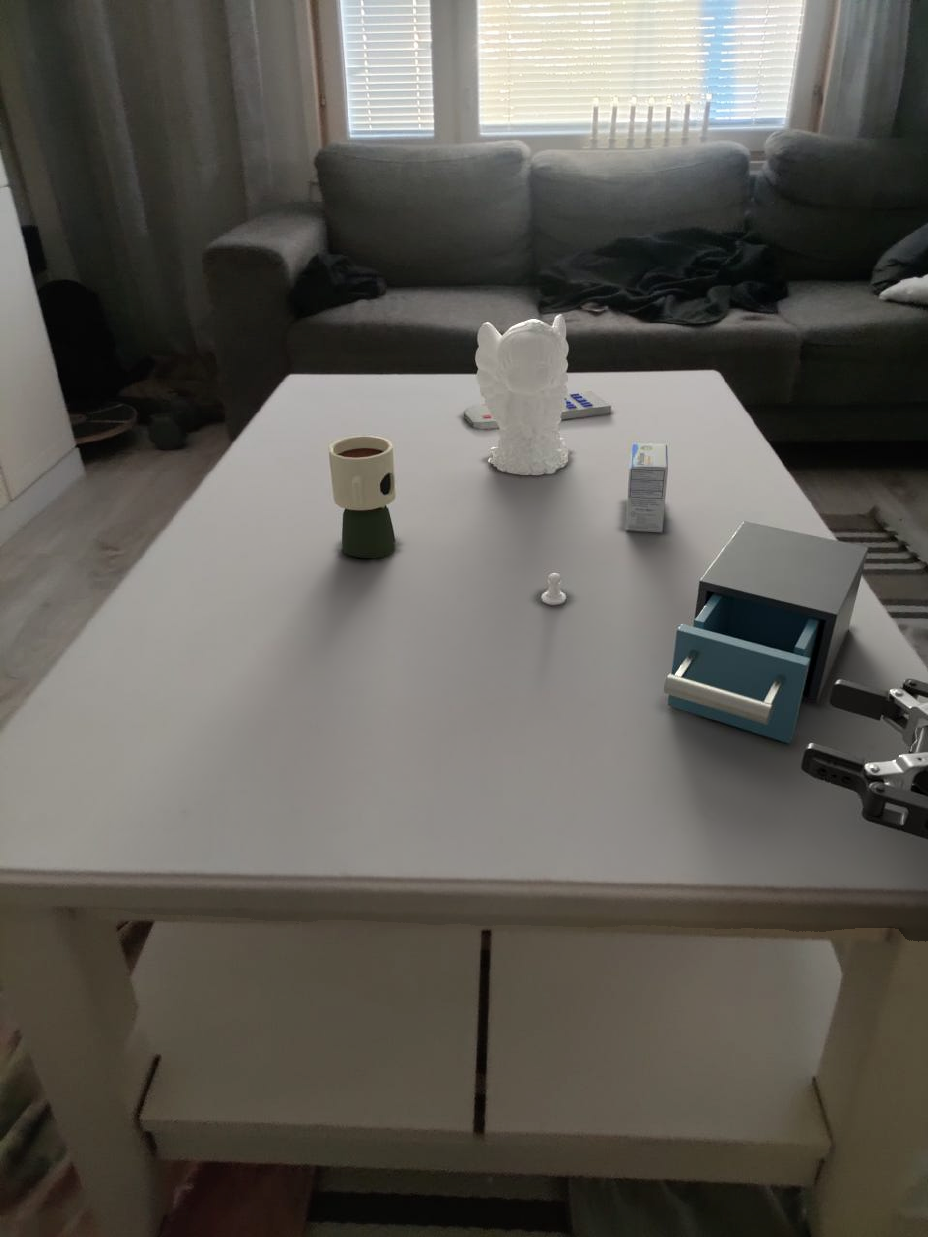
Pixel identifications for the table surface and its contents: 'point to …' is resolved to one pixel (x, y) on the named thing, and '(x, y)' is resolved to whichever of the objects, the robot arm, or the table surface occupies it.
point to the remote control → (575, 407)
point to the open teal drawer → (745, 665)
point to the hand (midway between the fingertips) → (818, 722)
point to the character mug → (364, 494)
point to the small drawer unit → (791, 583)
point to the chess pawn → (553, 591)
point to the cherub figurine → (525, 393)
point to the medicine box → (647, 487)
